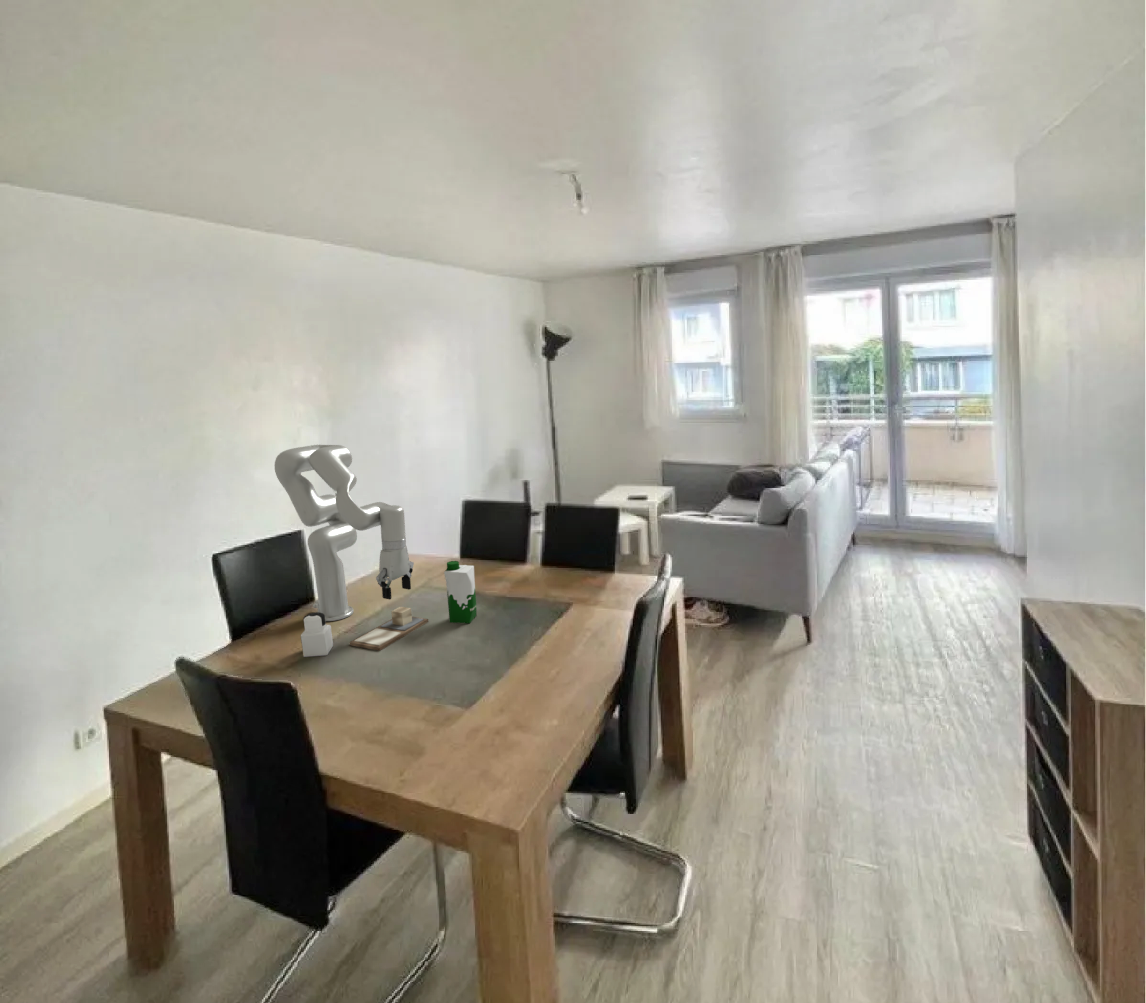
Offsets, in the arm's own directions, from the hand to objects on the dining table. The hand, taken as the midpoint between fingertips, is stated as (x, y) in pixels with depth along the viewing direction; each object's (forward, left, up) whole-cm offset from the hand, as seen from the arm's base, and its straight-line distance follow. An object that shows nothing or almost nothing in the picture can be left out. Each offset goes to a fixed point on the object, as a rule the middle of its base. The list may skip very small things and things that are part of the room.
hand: (397, 593), depth 217 cm
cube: (+1, 0, -10) cm, 10 cm away
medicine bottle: (-11, -25, -12) cm, 30 cm away
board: (+1, -6, -11) cm, 13 cm away
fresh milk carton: (+17, +12, -12) cm, 24 cm away
